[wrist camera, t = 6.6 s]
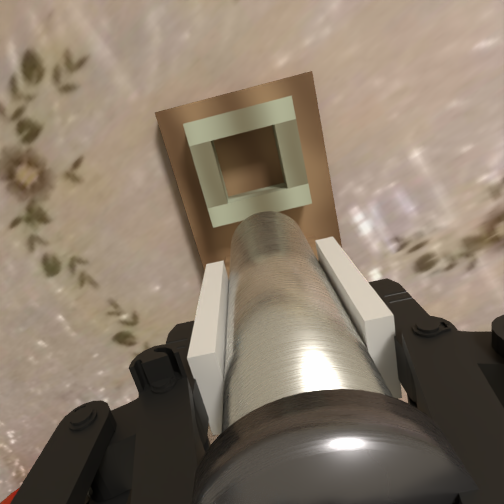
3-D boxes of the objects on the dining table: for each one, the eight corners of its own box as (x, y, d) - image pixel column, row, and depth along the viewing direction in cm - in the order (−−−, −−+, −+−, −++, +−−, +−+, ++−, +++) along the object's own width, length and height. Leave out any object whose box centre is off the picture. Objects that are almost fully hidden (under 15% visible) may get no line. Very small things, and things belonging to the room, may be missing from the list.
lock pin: (233, 297, 21) (225, 679, 7) (211, 213, 19) (138, 489, 5) (321, 279, 21) (499, 631, 7) (306, 192, 19) (504, 418, 5)
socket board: (226, 330, 43) (225, 357, 38) (159, 112, 35) (146, 112, 30) (347, 302, 42) (361, 326, 37) (307, 73, 34) (319, 67, 29)
